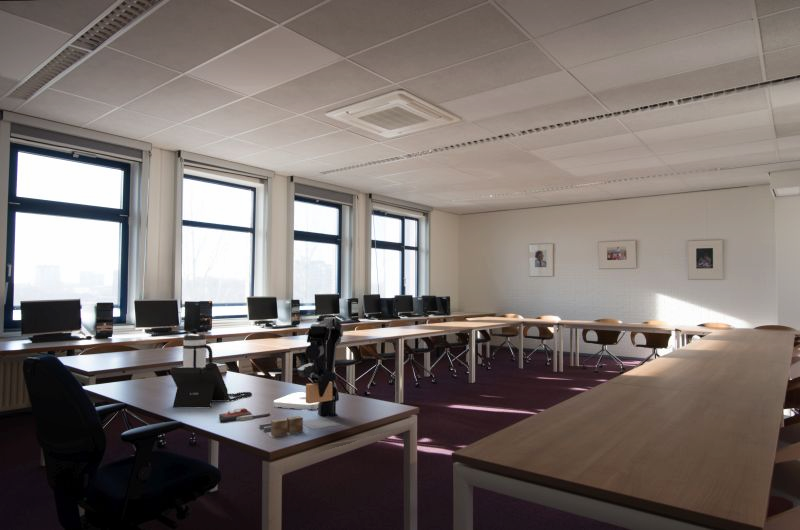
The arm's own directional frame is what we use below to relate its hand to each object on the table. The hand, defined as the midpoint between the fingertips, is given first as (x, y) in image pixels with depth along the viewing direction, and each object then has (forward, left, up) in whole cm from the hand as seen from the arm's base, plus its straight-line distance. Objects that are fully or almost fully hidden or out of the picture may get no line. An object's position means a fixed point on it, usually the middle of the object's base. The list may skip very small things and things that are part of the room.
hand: (319, 396), depth 193 cm
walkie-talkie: (+22, -26, -12) cm, 36 cm away
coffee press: (+19, -124, -11) cm, 126 cm away
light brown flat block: (0, 0, -2) cm, 2 cm away
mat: (0, 0, -11) cm, 11 cm away
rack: (+15, -1, -11) cm, 19 cm away
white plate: (-10, -37, -12) cm, 40 cm away
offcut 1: (+18, +5, -11) cm, 21 cm away
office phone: (+23, -67, -12) cm, 72 cm away
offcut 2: (+12, +5, -11) cm, 17 cm away
